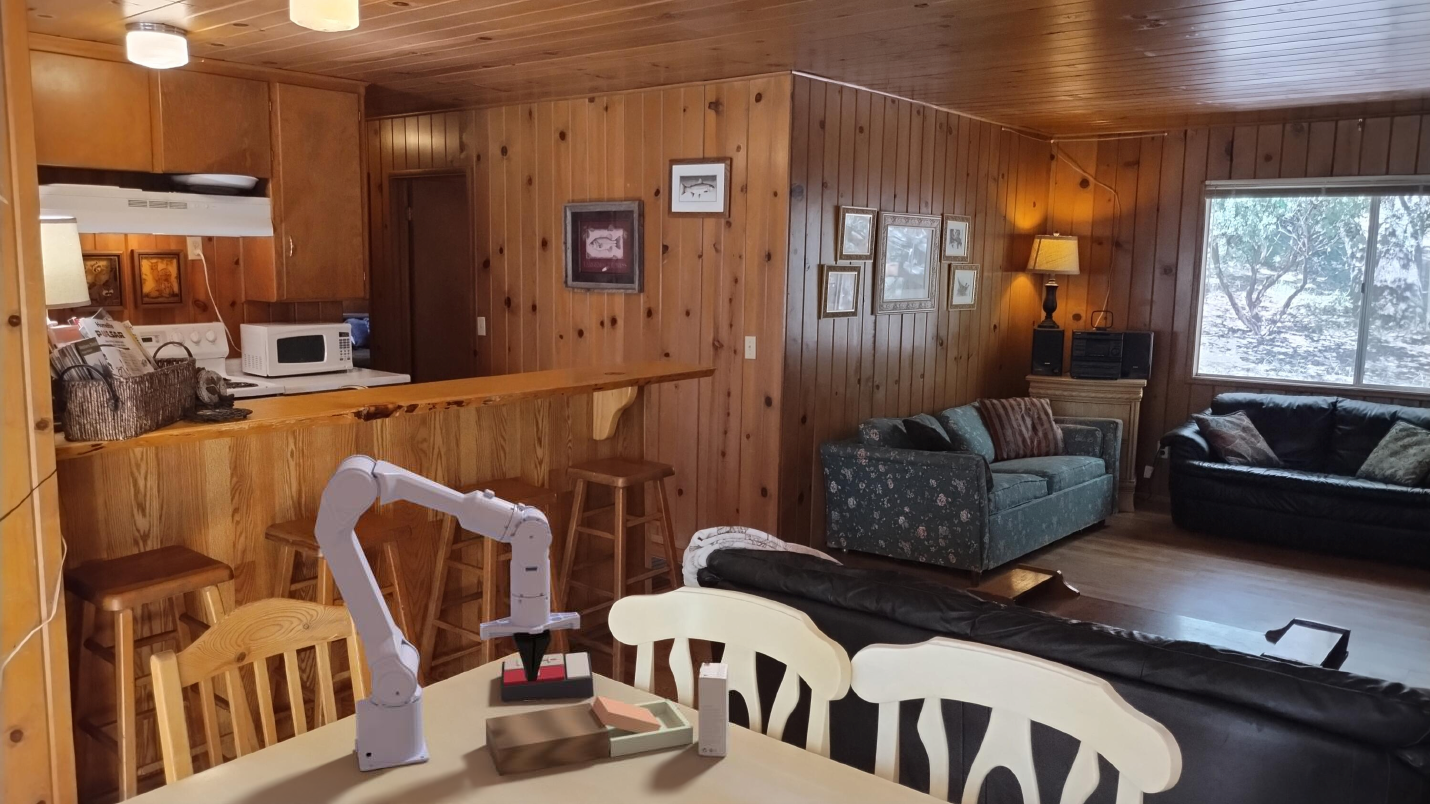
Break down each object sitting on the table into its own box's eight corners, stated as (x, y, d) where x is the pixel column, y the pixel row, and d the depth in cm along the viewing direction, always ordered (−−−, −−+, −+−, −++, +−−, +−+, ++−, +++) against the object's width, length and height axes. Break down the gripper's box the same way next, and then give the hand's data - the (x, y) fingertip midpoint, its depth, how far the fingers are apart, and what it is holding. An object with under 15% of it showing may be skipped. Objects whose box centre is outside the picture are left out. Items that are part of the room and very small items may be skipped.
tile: (603, 724, 155) (608, 711, 155) (591, 707, 161) (596, 695, 161) (656, 737, 159) (661, 725, 159) (643, 720, 164) (648, 708, 164)
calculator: (501, 656, 181) (589, 648, 184) (503, 680, 182) (590, 671, 185) (500, 682, 171) (592, 673, 173) (501, 707, 171) (594, 698, 174)
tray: (611, 756, 154) (611, 740, 153) (591, 725, 163) (591, 710, 163) (692, 742, 159) (693, 727, 158) (668, 713, 168) (668, 698, 168)
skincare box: (727, 757, 154) (728, 679, 152) (696, 755, 155) (698, 677, 153) (729, 737, 160) (731, 662, 159) (700, 736, 161) (701, 661, 159)
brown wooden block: (499, 775, 148) (498, 748, 147) (486, 744, 157) (485, 718, 156) (608, 756, 154) (608, 730, 153) (589, 727, 163) (589, 702, 162)
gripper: (485, 605, 148) (486, 696, 150) (585, 594, 154) (585, 682, 156) (476, 590, 154) (478, 677, 157) (573, 579, 160) (573, 664, 162)
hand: (531, 678), depth 157 cm, fingers closed
